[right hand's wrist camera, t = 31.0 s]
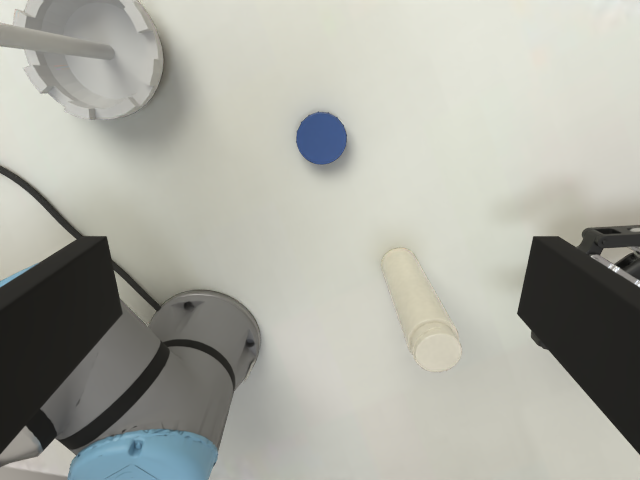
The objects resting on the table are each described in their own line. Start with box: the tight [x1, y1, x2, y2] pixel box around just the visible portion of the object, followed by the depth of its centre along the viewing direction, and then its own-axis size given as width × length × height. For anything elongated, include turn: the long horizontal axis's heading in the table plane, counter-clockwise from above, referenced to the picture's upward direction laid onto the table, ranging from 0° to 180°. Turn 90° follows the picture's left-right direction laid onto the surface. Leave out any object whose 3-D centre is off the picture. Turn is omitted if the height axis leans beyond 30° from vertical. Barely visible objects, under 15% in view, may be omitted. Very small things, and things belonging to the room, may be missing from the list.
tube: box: [381, 248, 462, 372], centre depth 43 cm, size 5×5×19 cm
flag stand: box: [0, 0, 164, 120], centre depth 28 cm, size 13×13×30 cm
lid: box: [296, 112, 347, 164], centre depth 45 cm, size 6×6×2 cm
